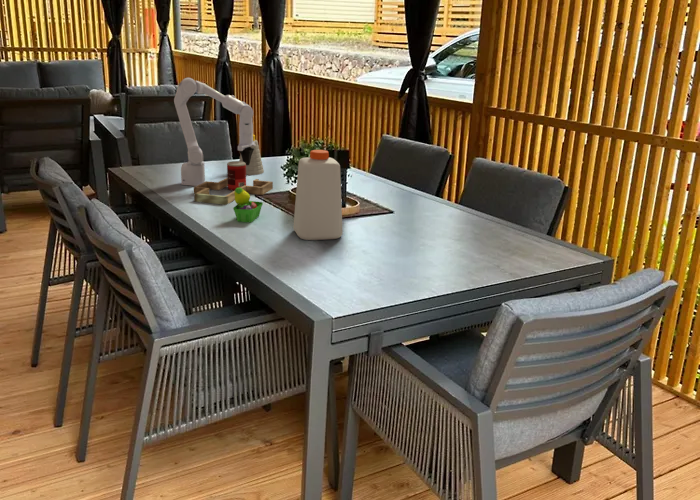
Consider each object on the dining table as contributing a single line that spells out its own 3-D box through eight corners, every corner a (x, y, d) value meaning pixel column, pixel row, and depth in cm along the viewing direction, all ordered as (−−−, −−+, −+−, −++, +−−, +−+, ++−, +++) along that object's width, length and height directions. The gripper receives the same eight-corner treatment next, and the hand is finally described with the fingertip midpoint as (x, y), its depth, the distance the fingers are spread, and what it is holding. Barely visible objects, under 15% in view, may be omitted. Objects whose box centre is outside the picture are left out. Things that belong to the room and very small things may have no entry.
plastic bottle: (299, 241, 214) (301, 155, 205) (291, 228, 227) (292, 147, 218) (345, 239, 218) (348, 155, 209) (333, 226, 231) (336, 146, 222)
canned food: (248, 187, 283) (247, 161, 279) (243, 191, 275) (243, 165, 272) (230, 186, 283) (230, 160, 280) (225, 190, 276) (224, 164, 272)
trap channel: (182, 200, 258) (182, 192, 257) (218, 182, 289) (218, 175, 288) (244, 206, 252) (244, 198, 251) (274, 187, 284) (274, 180, 283)
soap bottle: (234, 170, 314) (233, 127, 308) (259, 169, 319) (259, 126, 313) (241, 175, 303) (240, 131, 297) (267, 174, 308) (267, 130, 302)
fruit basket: (253, 224, 231) (252, 192, 227) (229, 221, 232) (228, 190, 229) (263, 215, 241) (263, 185, 238) (240, 213, 243) (240, 183, 239)
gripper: (248, 136, 275) (249, 168, 279) (261, 131, 288) (261, 162, 293) (232, 135, 276) (233, 167, 281) (245, 130, 290) (246, 161, 294)
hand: (246, 164), depth 287 cm, fingers closed
